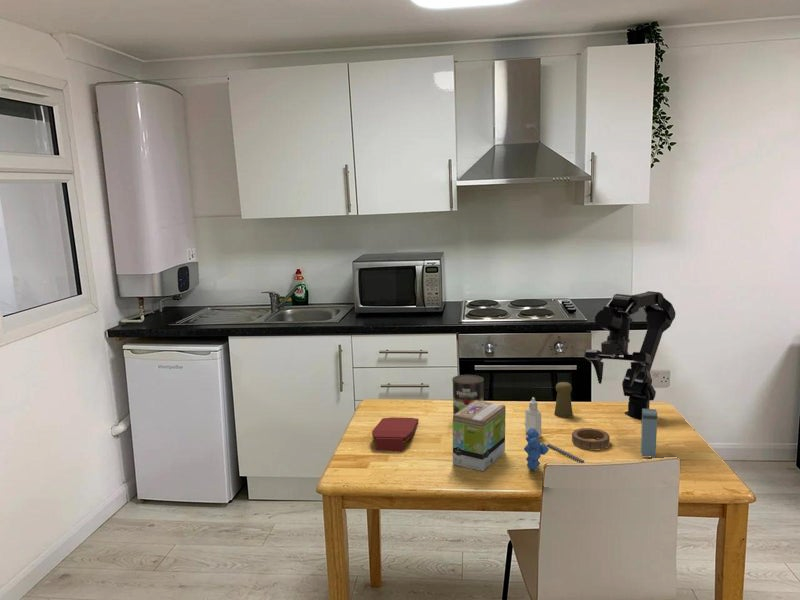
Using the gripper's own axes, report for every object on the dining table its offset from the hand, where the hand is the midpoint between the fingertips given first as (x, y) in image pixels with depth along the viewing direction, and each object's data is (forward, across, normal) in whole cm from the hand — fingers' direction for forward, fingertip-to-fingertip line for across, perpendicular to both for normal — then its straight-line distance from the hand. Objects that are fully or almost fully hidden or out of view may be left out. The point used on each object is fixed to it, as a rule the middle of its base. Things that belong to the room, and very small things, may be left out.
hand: (614, 384), depth 189 cm
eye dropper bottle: (+18, -21, -8) cm, 29 cm away
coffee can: (+17, -45, -8) cm, 49 cm away
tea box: (+27, -26, -30) cm, 48 cm away
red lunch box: (+25, -57, -30) cm, 69 cm away
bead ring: (+18, -4, -4) cm, 19 cm away
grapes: (+28, -10, -28) cm, 40 cm away
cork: (+11, -21, +12) cm, 26 cm away
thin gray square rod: (+22, -7, -15) cm, 28 cm away
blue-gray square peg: (+19, +12, -3) cm, 23 cm away
